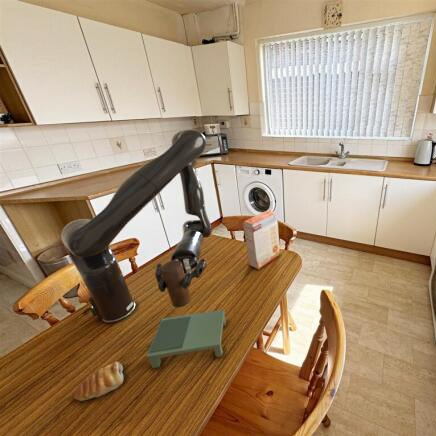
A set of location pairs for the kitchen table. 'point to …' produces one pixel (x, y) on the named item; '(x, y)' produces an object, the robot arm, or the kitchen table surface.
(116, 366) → the pastry
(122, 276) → the robot arm
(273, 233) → the cracker box
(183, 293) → the pepper mill
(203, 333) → the stand
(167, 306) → the kitchen table surface
